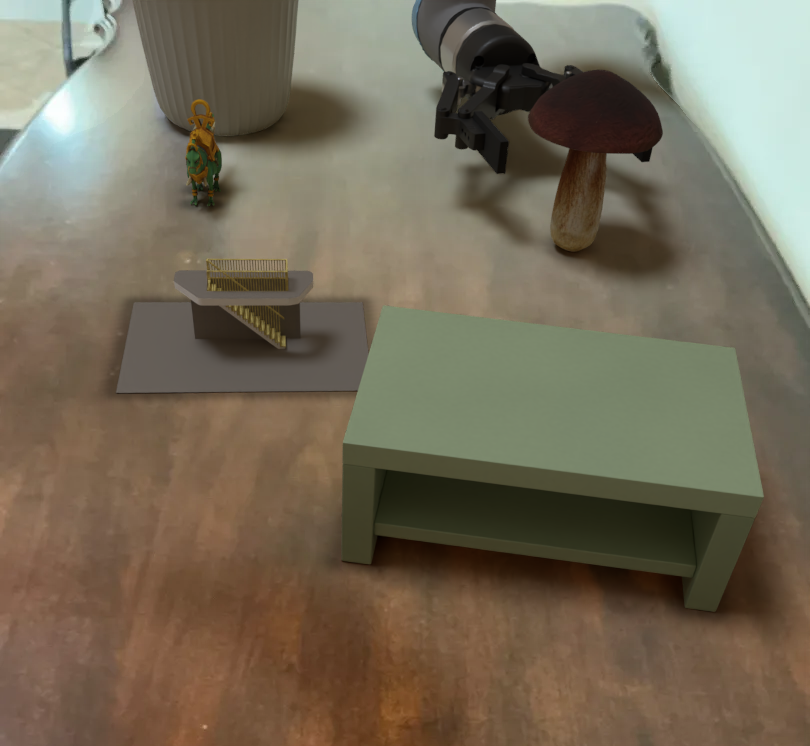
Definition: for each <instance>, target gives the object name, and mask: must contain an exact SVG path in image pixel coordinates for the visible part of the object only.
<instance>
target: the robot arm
mask: <svg viewBox="0 0 810 746" xmlns="http://www.w3.org/2000/svg"><path fill="white" fill-rule="evenodd" d="M496 5H497V0H415V1H414V3H413V7H412V10H411V28H412V31H413V34H414V36H415V39H416V40H417V41H418V43H419V45H420V47H421V50H422V51H423V52H424V54H425V55H426V57H427V58H429V59H430V60H431V61H432V62H434V64H436V65H437V66H438V67H439V68H440V69H441V70H442V71H443V73H442V80H441V93H440V97H439V99H438V102H437V105H436V108H435V119H434V133H433V137H434V138H435V139H437V140H446V139H448V137H449V135H453V136H455V139H454V140H455V141H454V148H456V149H457V150H467V149H469V150H472V151H476V152H478V153H479V155H480V156H481V157H482V158H483V160H484V161H485V162H486V163H487V164H488V166H489V167H490V168H491V170H492V171H493V172H494V173H495V174H496V175H504V174H506V170H507V161H508V154H509V147H510V141H509V140H508V138H507V137H506V136H505V135H504V134H503V133H502V131H501V130H499V128H498V127H497V126H496V124H494V122H493V120H495V119H496V117H498V116H503V115H508V114H509V113H511V112H515V111H519V110H520V111H523V112H526V113H529V112H530V111H531V109H532V108H533V106H534V104H535V103H536V102H537V100H538V99H539V98H540V97H541V96H542V95H543V94H544V93H545V92H547V91H548V90H550V89H551V88H552V87H554V86H555V85H557V84H558V83H560V82H562V81H563V80H565V79H567V78H569V77H571V76H574V75H576V74H579V73H582V72H584V71H583V70H581V69H580V68H579V67H577V66H576V65H573V64H569V65H565V66H564V69H563V74H561V73H556V72H552V71H550V70H547V69H545V68H542V67H541V66H540V63H539V60H538V57H537V54H536V52H535V50H534V49H533V46H532V45H531V44H530V43H529V42H528V41H527V40H526V39H525V38H524V37H523V36H522V35H520V34H519V32H517V31H516V30H515V29H514V28H513V26H511V24H509V23H508V22H506V21H505V20H504V19H503V18H502V17H500V16H499V15H498V14H497V13H496V7H497V6H496ZM464 98H466V99H467V100H466V102H464V103H463V105H461V104H462V99H464ZM460 105H461V106H460ZM458 106H460V107H459V108H458ZM491 120H492V121H491ZM653 148H654V147H652V148H651V149H649V150H647V151H644V152H639V153H633V154H632V155H633V156H634V157H635V158H636V159H637V160H638V161H640V162H641V163H648V162H649V163H650V162H651V161H650V160H651V158H652V157H651V156H652V152H653Z"/></svg>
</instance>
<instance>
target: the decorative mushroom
mask: <svg viewBox="0 0 810 746" xmlns="http://www.w3.org/2000/svg"><path fill="white" fill-rule="evenodd" d="M527 123H528V126H529V128H530V129H531V130H532V132H533V133H534V134H535V135H537V136H539V137H540V138H542V139H544V140H546V141H548V142H549V143H552V144H555V145H557V146H560V147H563V148H567V149H568V152H567V156H566V159H565V162H564V165H563V168H562V170H561V174H560V178H559V181H558V184H557V188H556V193H555V197H554V201H553V206H552V211H551V217H550V223H549V224H550V225H549V228H550V229H549V231H550V237H551V239H552V242H553V244H554V245H556V246H558V247H559V248H561V249H562V250H564V251H567V252H573V253H576V252H579V251H583V250H584V249H586V248H588V247H589V246H591V245H592V244H593V242H594V241H595V239H596V237H597V235H598V231H599V228H600V222H601V218H602V213H603V207H604V199H605V190H606V184H607V183H606V181H607V170H608V169H607V154H608V155H609V154H613V155H614V154H617V155H619V154H620V155H633V153H639V152H644V151H647V150H649V149H651V148H652V147H653V148H654V147H655V146H656V145H657V144H658V143H659V142H660V141H661V139H662V138H663V135H664V131H663V125H662V121H661V118H660V115H659V112H658V111H657V109H656V107H655V106H654V104H653V103H652V102H651V100H650V99H649V98H648V97H647V96H646V95H645V94H644V93H643V92H642V91H641V90H639V89H638V88H637V86H635V85H633V83H631V82H629V81H628V80H626V79H625V78H624V77H622V76H620V75H618V74H616V73H614V72H612V71H610V70H606V69H592V70H591V69H590V70H586V71H583V72H582V73H579V74H576V75H574V76H571V77H569V78H567V79H565V80H563V81H562V82H560V83H558V84H557V85H555V86H554V87H552V88H551V89H550V90H548V91H547V92H545V93H544V94H543V95H542V96H541V97H540V98H539V99H538V100H537V102H536V103H535V104H534V106H533V108H532V109H531V111H529V112H528V115H527ZM653 148H652V149H653Z"/></svg>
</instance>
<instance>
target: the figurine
mask: <svg viewBox="0 0 810 746" xmlns="http://www.w3.org/2000/svg"><path fill="white" fill-rule="evenodd" d="M197 104H202V105H204V106H205V108H206V115H203V114H199V115H196V111H195V107H196V105H197ZM191 111H192V113H193V115H194V116H192V117H190V118H188V119H187V120H188V122H189V124H190V125H192V124H194V123H195V127H194V129H193V131H190V133H189V138H188V139H189V141H188V142H187V146H186V148H185V150H186V154H185V157H184V160H185V163H186V164H185V165H186V175H187V181H186V183H185V185H186V186H190V185H191V195H192V198H193V199H192V200H191V201H190V202H189V203H190V205H193V204H194V206H197V205H198V196H199V192H198V191H203V190H204V188H203V187H207V186H208V189H207V197H208V201H207V207H210V206H211V205H212V206H215V201H214V200H213V197H214V195H215V194H214V192H215V193H217V192H218V193H221V191H222V189H221V187H220V184H219V180H220V173H221V171H222V168H223V156H222V151H221V149H220V147H219V146H218V144H217V142H216V138H215V135H214V134H215V133H214V130H215V122H214V121H215V120H214V114H213V113H212V112H210V111H211V110H210V106H209V105H208V103H207V102H205V101H204V100H201V99H198V100H195V101H194V102H193V103H192V105H191ZM199 118H201V119H204V120H203V123H202V124H201V122H200V119H199ZM191 120H193V121H194V122H192V121H191Z"/></svg>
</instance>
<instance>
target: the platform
mask: <svg viewBox="0 0 810 746" xmlns="http://www.w3.org/2000/svg"><path fill="white" fill-rule="evenodd" d="M205 259H206V260H205V265H206V269H205V270H201V269H197V270H196V269H194V270H192V269H190V270H189V269H188V270H187V269H181V270H177V271H175V272H174V275H173V276H174V277H173V284H174V289H175V290H176V291H178V292H179V293H180V294H182V295H184V296H185V297H187V298H188V299H189V300H190V301H180V302H179V301H178V302H177V301H173V302H172V301H163V302H161V301H134V302H133V305H132V309H131V315H130V320H129V324H128V330H127V335H126V339H125V344H124V350H123V354H122V360H121V364H120V371H119V376H118V380H117V386H116V391H115V394H142V393H143V394H145V393H146V394H149V393H150V394H151V393H152V394H154V393H155V394H156V393H240V392H241V393H247V392H251V393H252V392H254V393H255V392H259V393H261V392H262V393H263V392H345V391H346V392H348V391H349V392H350V391H354V392H356V391H357V392H358V389H359V385H360V382H361V378H362V375H363V371H364V368H365V365H366V361H367V358H368V354H369V345H368V337H367V328H366V321H365V311H364V304H363V303H364V302H363V301H343V302H342V301H323V302H322V301H313V302H312V301H303V300H304V299H305V297H306V296H307V295H308V294H309V293H310V292H311V291H312V290H313V288H314V273H313V272H312V271H311V270H289V268H288V267H289V264H288V258H205ZM215 261H216V262H215ZM226 261H227V263H226ZM237 261H238V262H237ZM259 261H260V262H259ZM267 261H270V262H271V264H270V262H267ZM278 261H279V262H281V265H282V266H279V263H278ZM218 262H219V266H218ZM240 263H241V264H240ZM249 263H251V264H249ZM229 264H230V267H229ZM260 264H262V266H263V267H262V266H259V265H260ZM240 265H241V266H240ZM251 265H252V267H251ZM221 266H222V267H221ZM232 266H233V267H232ZM271 266H273V269H274V270H273V269H271ZM281 267H282V268H281ZM213 268H214V269H213ZM232 268H233V269H232ZM243 268H244V269H243ZM262 268H263V269H265V270H263V269H262ZM281 269H282V270H281ZM284 269H285V270H284Z"/></svg>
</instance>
